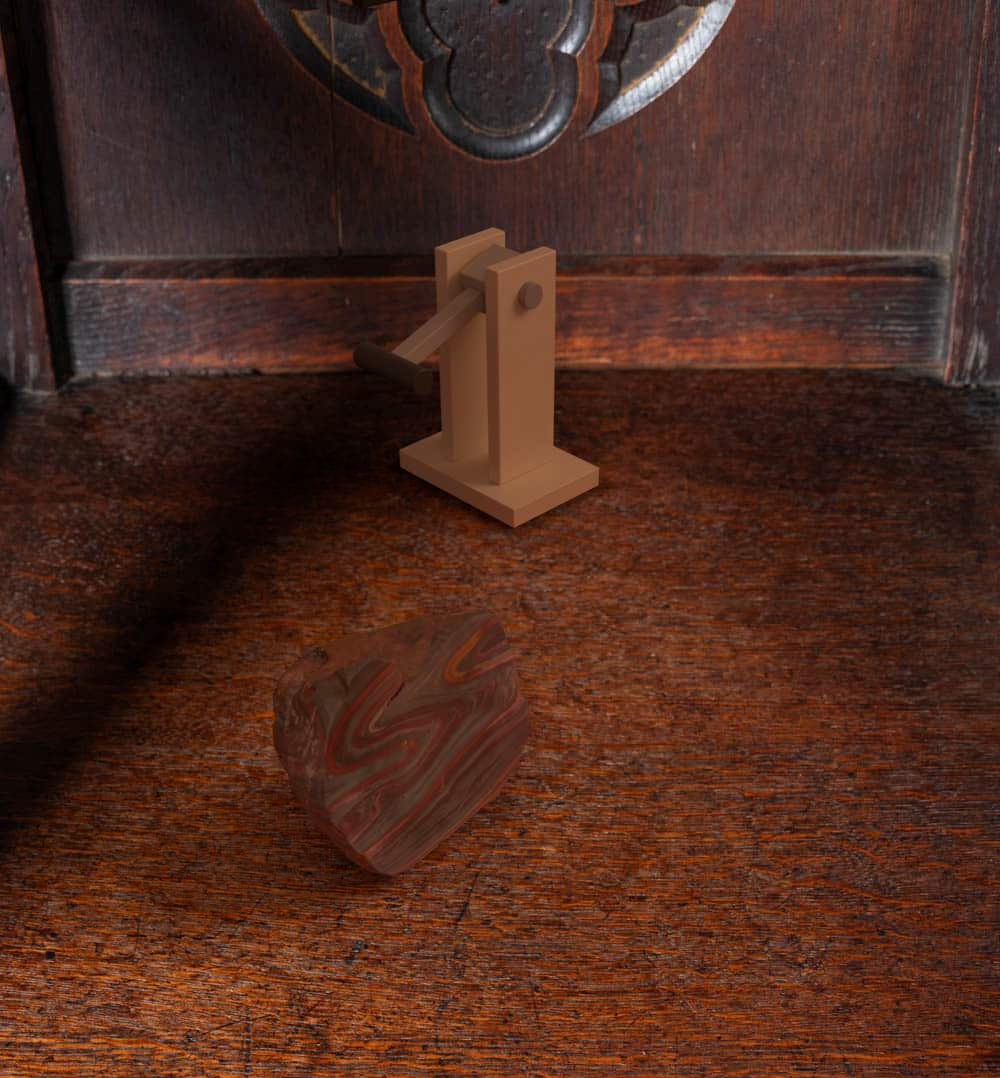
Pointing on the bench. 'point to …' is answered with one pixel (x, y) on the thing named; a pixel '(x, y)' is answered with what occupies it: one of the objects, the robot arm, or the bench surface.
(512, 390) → the bracket
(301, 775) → the stone
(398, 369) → the lever
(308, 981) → the bench surface
